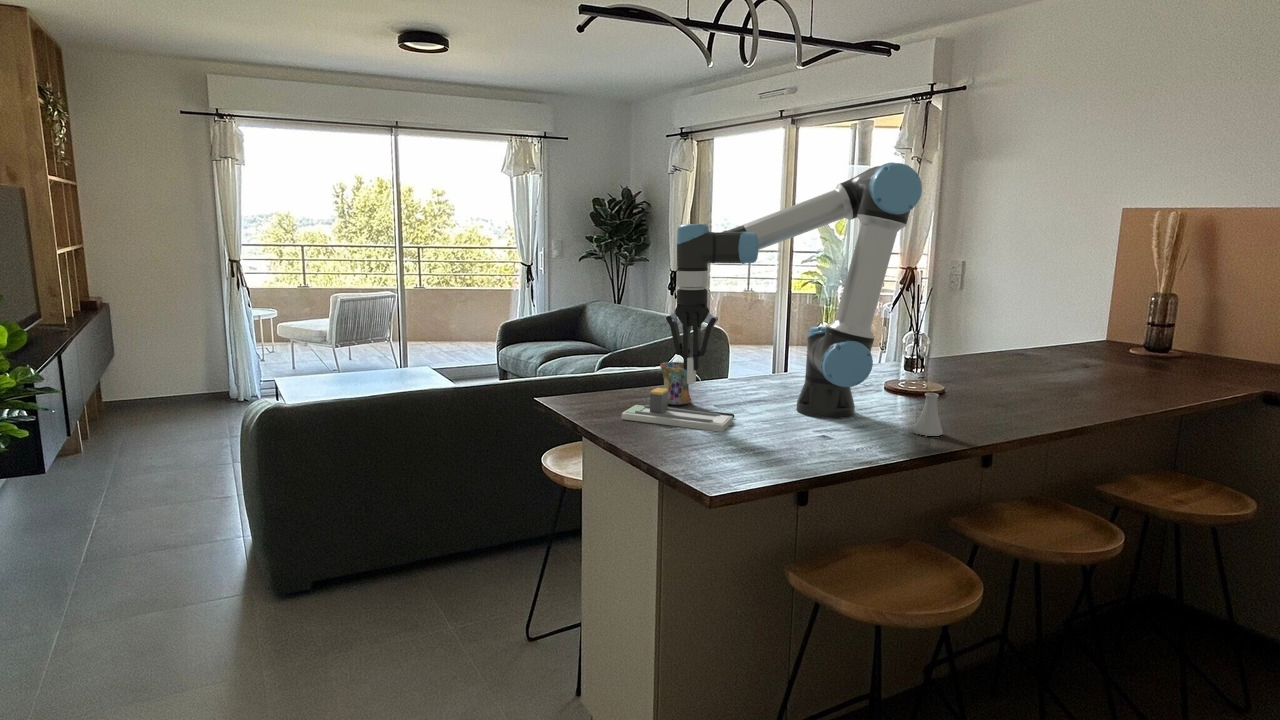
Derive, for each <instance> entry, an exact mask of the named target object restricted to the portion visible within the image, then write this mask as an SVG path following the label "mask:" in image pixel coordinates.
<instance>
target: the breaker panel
mask: <svg viewBox="0 0 1280 720" xmlns="http://www.w3.org/2000/svg"><path fill="white" fill-rule="evenodd" d="M675 408H676V407H670V408H668V410H667V411H666V412H664V413H663V414H660V413H652V412H650V404H645V405H643V406H642V404H641V405H640V404H635V405H634V406H633V405H632V406H631V407H630V408H628V409H626V410H624V411H623V412H621V420H626V421H635V422H641V423H642V422H643V423H649V424H650V423H651V424H659V425H666V426H675V427H680V428H681V427H683V428H690V429H698V430H707V431H714V432H721V433H723V432H724V431H725V430H726V429H728V427H729V426H730V425H731V424H732V423H733V419H734V418H733V416H726V415H720V414H717V413H709V412H700V411H701V410H700V411H692V410H693V409H690V410H683V409H684V408H680V409H675Z"/></svg>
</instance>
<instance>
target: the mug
mask: <svg viewBox="0 0 1280 720" xmlns="http://www.w3.org/2000/svg"><path fill="white" fill-rule="evenodd" d="M659 366H660V369H661V371H662V376H663V388H666V389H668V405H672V406H683V405H688V404H690V403H691V402H692V398H691V395H690V390H689V389H690V388H689V385H690V384H687V370H684V368H683V361H682V362H681V361H680V362H679V361H667V362H662V363H660V364H659Z"/></svg>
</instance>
